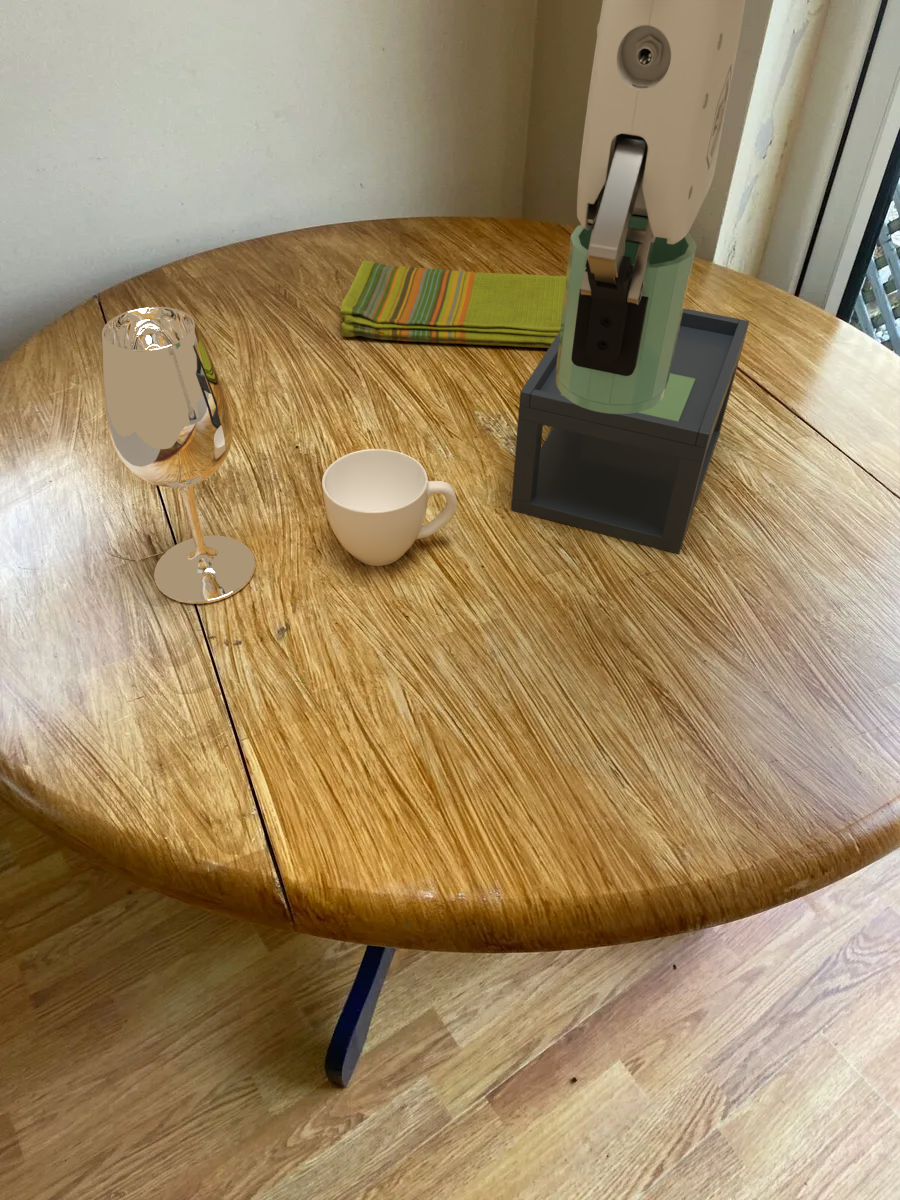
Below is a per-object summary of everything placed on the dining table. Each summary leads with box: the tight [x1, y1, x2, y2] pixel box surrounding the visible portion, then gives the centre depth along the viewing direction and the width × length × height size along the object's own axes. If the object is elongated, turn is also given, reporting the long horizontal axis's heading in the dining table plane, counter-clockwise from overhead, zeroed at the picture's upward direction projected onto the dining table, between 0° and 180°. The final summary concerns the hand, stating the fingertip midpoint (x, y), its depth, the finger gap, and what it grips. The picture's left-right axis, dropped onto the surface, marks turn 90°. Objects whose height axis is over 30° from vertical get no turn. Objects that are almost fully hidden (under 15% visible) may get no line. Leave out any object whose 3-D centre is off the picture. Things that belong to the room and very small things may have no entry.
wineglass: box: [101, 306, 257, 605], centre depth 62 cm, size 8×8×20 cm
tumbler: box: [556, 216, 697, 414], centre depth 47 cm, size 6×6×8 cm
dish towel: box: [339, 259, 566, 349], centre depth 98 cm, size 15×36×3 cm, turn 85°
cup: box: [321, 448, 458, 567], centre depth 69 cm, size 8×10×7 cm
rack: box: [510, 307, 750, 555], centre depth 75 cm, size 14×18×11 cm
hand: (619, 334), depth 48 cm, fingers closed on tumbler, 6 cm apart
